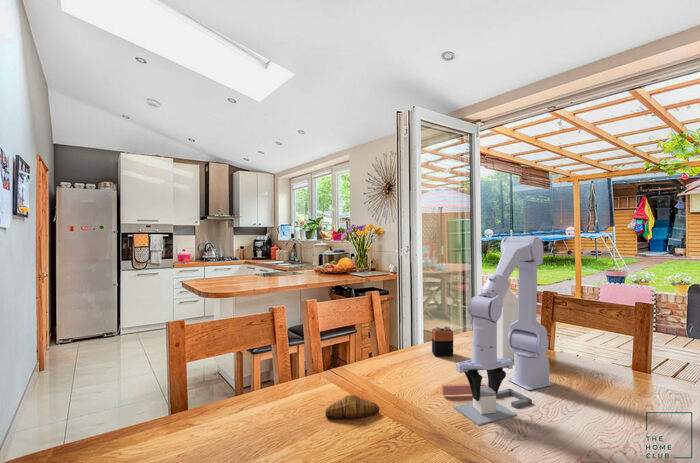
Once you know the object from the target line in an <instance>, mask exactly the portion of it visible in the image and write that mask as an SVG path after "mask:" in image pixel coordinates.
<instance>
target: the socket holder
mask: <svg viewBox="0 0 700 463" xmlns="http://www.w3.org/2000/svg"><path fill="white" fill-rule="evenodd" d="M507 396H512V397H514V398H516V399H518V400H513V401H511V403H510V405H511V407H513V408H514V409H515V408H520V407H524V406H528V405H532V404H533V399H531V398H530V397H527V396H525V395H523V394H522V393H520V392H518V391H516V390H514V389H512V388H507V389H502V390H498V393H497V396H496V399H497V398H501V397H502V398H503V397H507Z"/></svg>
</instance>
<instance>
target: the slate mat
mask: <svg viewBox="0 0 700 463" xmlns="http://www.w3.org/2000/svg"><path fill="white" fill-rule="evenodd" d="M453 409H454V410H456V411H457V412H459V413H460V414H461V415H463V416H464V417H465V418H467V419H469V420H470V421H471V422H472V423H474V424H476V425H477V426H482V425H486V424H489V423H493V422H496V421H500V420H504V419H507V418H510V417H511V418H512V417H515V416H518V414H517V413H516V412H514V411H512V410H510V409H509V408H507V407H505V406H503V405H501V404H500V403H499V402H497V401H496V413H488V414H480V413H479V412H478V411H477V410H476V409H475V408H474V407H473V401H471V402H469V403H468V402H467V403H463V404H459V405H455V406H453Z"/></svg>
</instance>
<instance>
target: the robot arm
mask: <svg viewBox="0 0 700 463" xmlns="http://www.w3.org/2000/svg"><path fill="white" fill-rule="evenodd" d="M543 244H544V243H543V242H542V240H541V238H540V237H539V236H509V235H507V236H504V237H503V238H502V239H501V242H500V254H501V256H500V259H499V262H498V264H497V267H496V268H495V271H494V273H490V274H489V275H488V276H487V277H486V279H485V281H484V283H483V285H482V287H481V288H480V290H479V293H478V294H477V295H475V296H473V297H471V298H470V300H469V303H468V307H467V312H468V315H469V318H470V324H471V326H472V358H471V359H470V358H469V359H468V360H467V359H466V360H463V361H460V362H459V361H458V362H456V363H455V370H456V371H457V372H458V373H459V374H463V373H464V375H465V377H466V378H467V381H468V384H470V387H471V391H472V394H471V396H472V399H473V398H474V399H475V400H476V401H479V399H480V386H481V383H482V380H483V378H484V377H483V376H482V375H481V374H480V372H479V371H486V374H487V381H488V382H487V383H488V387H490V388H491V389H492V390H494V391H495V392H496V396H497V393H498V391H500V390H499V389H500V388H501V385H502V382H503V380H504V379H505V378H506V377H507V372H506V371H505V370H504V369H509V370H513V369H514V370H513V372H514V373H513V374H514V375H513V376H512V377H507V381H509V382H511V383H513V384H515V385H517V386H519V387H521V388H523V389H524V390H527V391H532V390H536V389H541V388H545V387H549V386H552V385H553V384H552V382H550V361H549V358H548V356H547V355H546V354H547V353H548V350H549V337H548V330H547V328H546V327H545V326H544V325H542V324H541V323H540V322H538V321H537V309H538V307H537V304H538V303H537V302H538V301H537V300H538V297H537V296H538V266H541V265H543V260H544V245H543ZM516 267H517V268H518V286H517V287H518V320H517V321H515V322H513V323H512V324H511V325H510V329H509V334H508V344H509V346H510V348H512V352H514V360H510V359H497V321H498V320H499V318H500V317H501V313H502V306H503V301H502V300H503V298H504V296H505V294H506V292H507V290H508V288H509V287H510V281H509V278H510V277H511V275H512V274H513V272H514V270H515V269H516ZM513 362H514V363H513ZM513 365H514V366H513Z"/></svg>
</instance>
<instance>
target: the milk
mask: <svg viewBox="0 0 700 463" xmlns="http://www.w3.org/2000/svg"><path fill="white" fill-rule="evenodd" d="M502 301H503V306H502V313H501V317H500V318H499V320H498V321H497V359H510V360H511V361H514V352H512V348H510V346H509V344H508V334H509V329H510V325H511V324H512V323H513V322H515V321H517V320H518V298H517V296H516V295H515V294H514V293H513V291H512V290H511V288H510V286H509V288H508V290H507V292H506V294H505V296H504V298H503V300H502Z"/></svg>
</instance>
